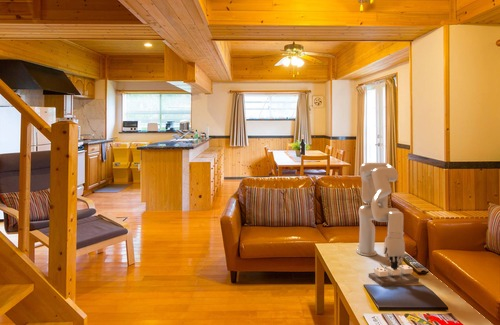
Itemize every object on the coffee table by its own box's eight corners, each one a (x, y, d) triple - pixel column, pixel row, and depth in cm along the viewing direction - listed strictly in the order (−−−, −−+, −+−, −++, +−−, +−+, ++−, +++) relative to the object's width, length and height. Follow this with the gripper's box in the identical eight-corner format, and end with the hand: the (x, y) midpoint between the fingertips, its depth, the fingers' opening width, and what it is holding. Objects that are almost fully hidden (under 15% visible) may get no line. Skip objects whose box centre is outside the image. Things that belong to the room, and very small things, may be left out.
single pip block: (386, 271, 182) (386, 266, 182) (394, 270, 183) (394, 265, 183) (392, 275, 177) (392, 270, 177) (400, 274, 178) (400, 269, 178)
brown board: (368, 277, 184) (368, 273, 184) (403, 273, 189) (403, 269, 189) (382, 286, 172) (382, 283, 172) (418, 282, 177) (418, 278, 177)
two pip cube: (398, 270, 184) (398, 265, 184) (406, 269, 185) (406, 264, 185) (404, 273, 179) (404, 268, 179) (412, 272, 180) (412, 268, 180)
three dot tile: (374, 272, 180) (374, 267, 180) (382, 271, 181) (382, 267, 181) (379, 276, 175) (380, 271, 175) (388, 275, 177) (388, 270, 176)
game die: (399, 273, 197) (407, 264, 190) (384, 267, 198) (392, 258, 192) (399, 261, 204) (407, 252, 197) (385, 256, 205) (393, 246, 199)
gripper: (402, 231, 184) (401, 264, 185) (378, 233, 180) (377, 267, 181) (412, 235, 176) (410, 269, 178) (387, 237, 173) (386, 272, 174)
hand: (393, 268), depth 179 cm, fingers closed
